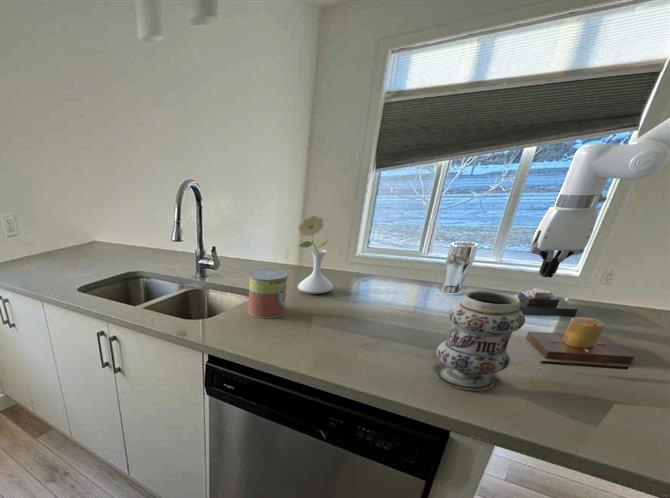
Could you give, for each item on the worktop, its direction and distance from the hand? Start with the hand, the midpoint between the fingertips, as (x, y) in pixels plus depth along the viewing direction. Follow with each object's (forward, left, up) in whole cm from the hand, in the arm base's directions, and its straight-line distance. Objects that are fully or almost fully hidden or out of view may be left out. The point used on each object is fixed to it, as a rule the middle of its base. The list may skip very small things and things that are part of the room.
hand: (545, 275), depth 108 cm
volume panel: (+3, +30, -9) cm, 32 cm away
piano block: (0, 0, -9) cm, 9 cm away
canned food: (+72, +11, -10) cm, 73 cm away
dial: (+3, +30, -6) cm, 31 cm away
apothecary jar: (+27, +46, -10) cm, 54 cm away
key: (0, 0, -6) cm, 6 cm away
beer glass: (+17, -14, -10) cm, 24 cm away
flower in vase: (+59, -11, -10) cm, 60 cm away
